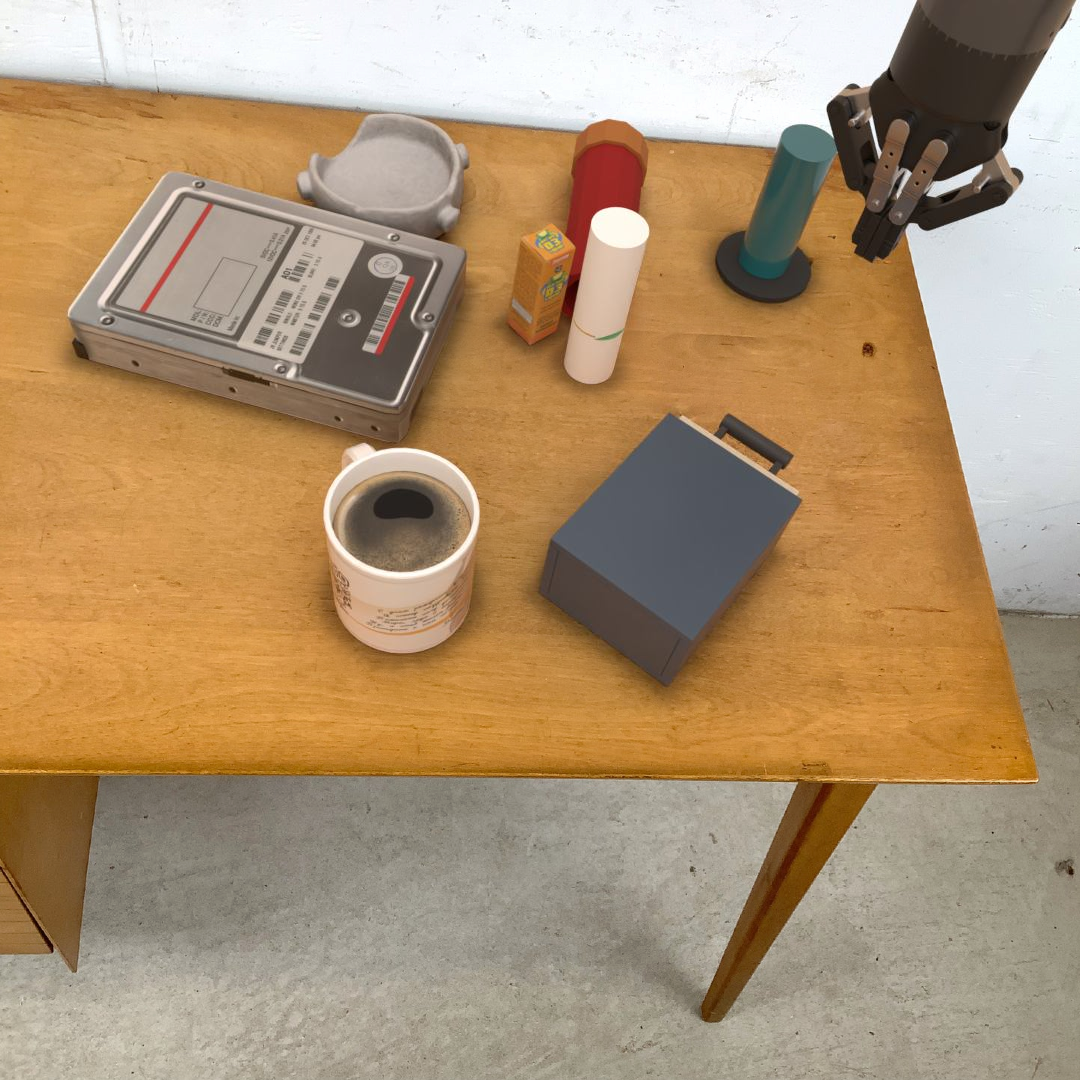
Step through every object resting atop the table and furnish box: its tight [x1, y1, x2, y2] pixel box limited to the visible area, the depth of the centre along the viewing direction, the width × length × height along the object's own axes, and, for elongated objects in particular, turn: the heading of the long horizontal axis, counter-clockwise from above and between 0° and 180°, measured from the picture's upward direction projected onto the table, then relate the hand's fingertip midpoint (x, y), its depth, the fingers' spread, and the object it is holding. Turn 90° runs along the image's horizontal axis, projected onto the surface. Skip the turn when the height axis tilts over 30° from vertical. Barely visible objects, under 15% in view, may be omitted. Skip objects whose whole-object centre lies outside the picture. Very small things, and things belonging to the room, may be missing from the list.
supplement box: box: [507, 223, 575, 346], centre depth 83 cm, size 3×3×10 cm
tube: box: [563, 207, 650, 385], centre depth 80 cm, size 4×4×15 cm
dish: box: [295, 112, 471, 240], centre depth 92 cm, size 14×14×5 cm
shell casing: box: [561, 118, 650, 320], centre depth 91 cm, size 7×20×7 cm, turn 173°
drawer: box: [679, 412, 800, 497], centre depth 75 cm, size 18×10×6 cm, turn 142°
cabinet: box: [538, 412, 803, 688], centre depth 73 cm, size 15×12×8 cm
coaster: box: [714, 229, 812, 304], centre depth 95 cm, size 9×9×1 cm
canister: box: [738, 123, 838, 279], centre depth 89 cm, size 5×5×13 cm
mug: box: [322, 442, 481, 654], centre depth 69 cm, size 10×12×11 cm
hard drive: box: [67, 170, 468, 443], centre depth 83 cm, size 18×27×4 cm
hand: (869, 252), depth 69 cm, fingers closed
